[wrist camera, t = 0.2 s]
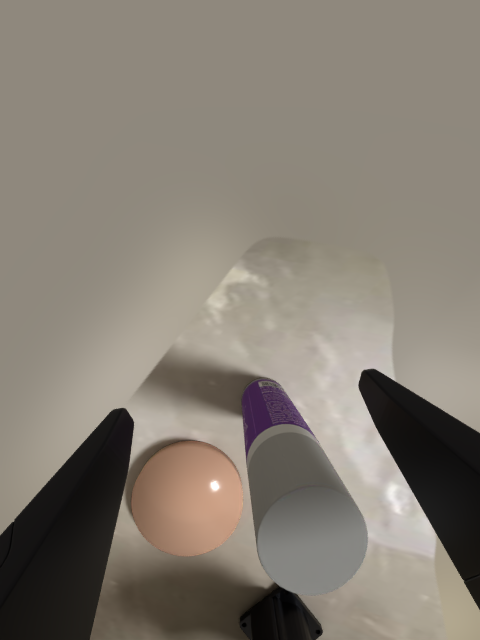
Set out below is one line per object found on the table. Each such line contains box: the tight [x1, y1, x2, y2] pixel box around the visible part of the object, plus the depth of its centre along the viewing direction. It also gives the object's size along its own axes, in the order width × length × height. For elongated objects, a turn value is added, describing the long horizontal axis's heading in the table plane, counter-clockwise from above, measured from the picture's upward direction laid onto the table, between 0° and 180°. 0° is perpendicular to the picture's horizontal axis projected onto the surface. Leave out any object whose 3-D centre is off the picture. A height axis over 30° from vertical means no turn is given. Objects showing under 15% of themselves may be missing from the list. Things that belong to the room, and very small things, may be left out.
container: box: [242, 378, 368, 595], centre depth 17 cm, size 5×5×15 cm
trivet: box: [131, 441, 243, 556], centre depth 23 cm, size 11×11×1 cm
